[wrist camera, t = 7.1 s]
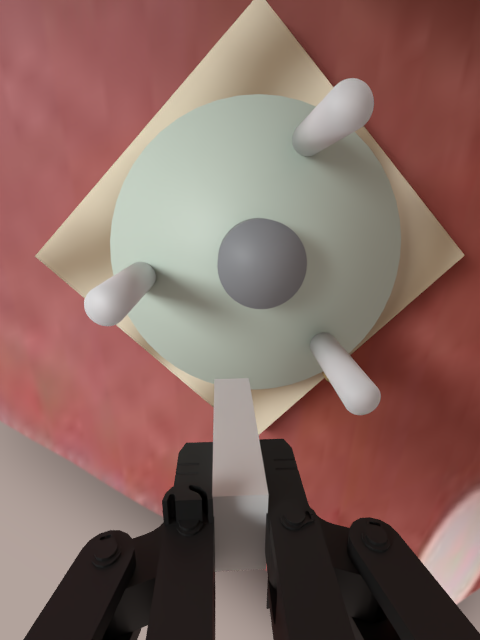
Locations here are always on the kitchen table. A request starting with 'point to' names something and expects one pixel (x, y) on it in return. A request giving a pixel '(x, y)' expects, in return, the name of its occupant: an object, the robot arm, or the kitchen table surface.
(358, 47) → the kitchen table surface
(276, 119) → the green peg holder
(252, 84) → the stand base
